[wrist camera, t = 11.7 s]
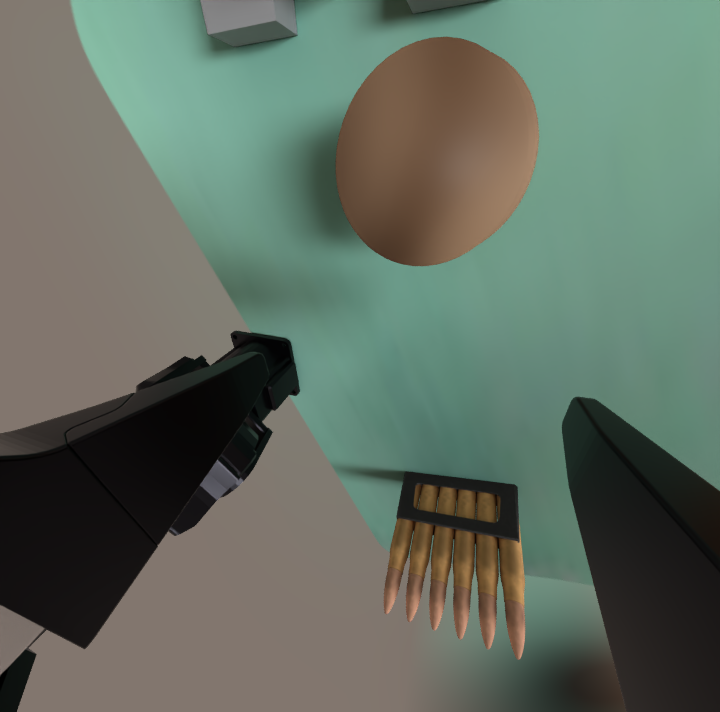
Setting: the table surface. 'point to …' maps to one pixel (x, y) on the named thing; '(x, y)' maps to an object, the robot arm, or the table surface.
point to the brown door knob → (436, 151)
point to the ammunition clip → (460, 550)
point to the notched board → (273, 18)
